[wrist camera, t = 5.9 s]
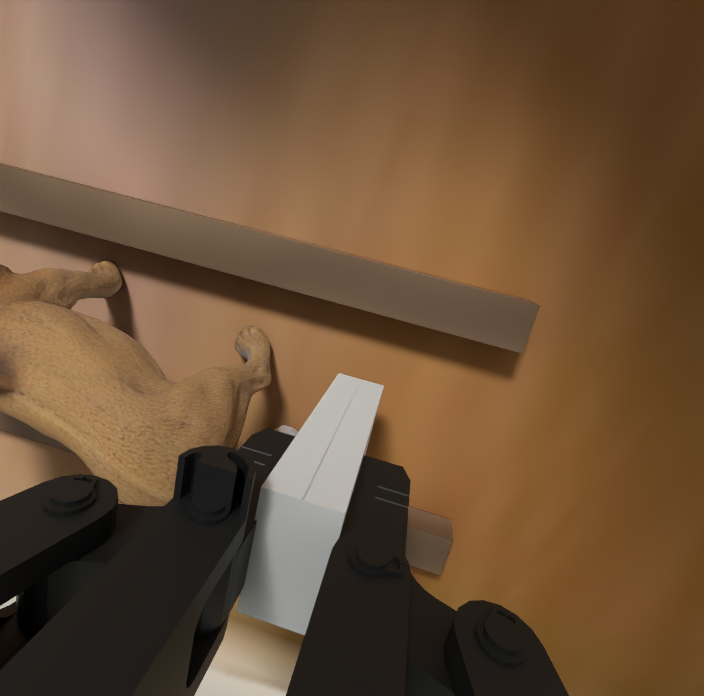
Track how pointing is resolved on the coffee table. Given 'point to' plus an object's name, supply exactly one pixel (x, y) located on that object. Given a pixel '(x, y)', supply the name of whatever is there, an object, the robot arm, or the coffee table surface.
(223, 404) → the lion figurine
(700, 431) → the coffee table surface
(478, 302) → the track
